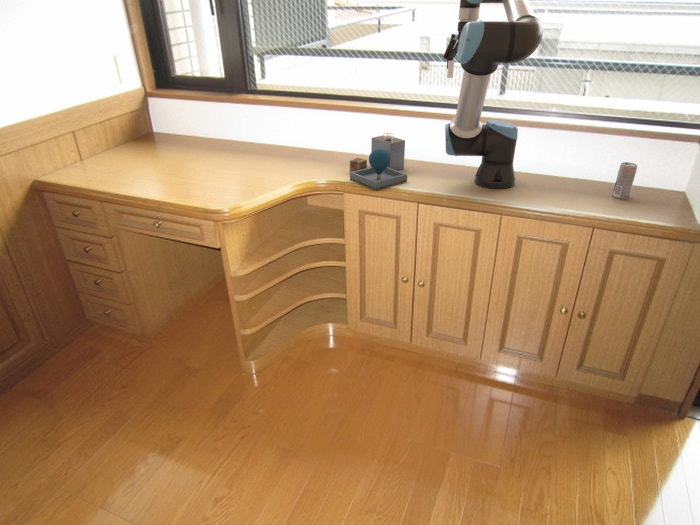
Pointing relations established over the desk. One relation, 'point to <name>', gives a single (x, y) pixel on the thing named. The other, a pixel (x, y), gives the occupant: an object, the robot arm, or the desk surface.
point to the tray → (370, 180)
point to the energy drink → (624, 180)
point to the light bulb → (379, 161)
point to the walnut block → (357, 164)
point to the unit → (391, 149)
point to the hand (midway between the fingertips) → (462, 79)
